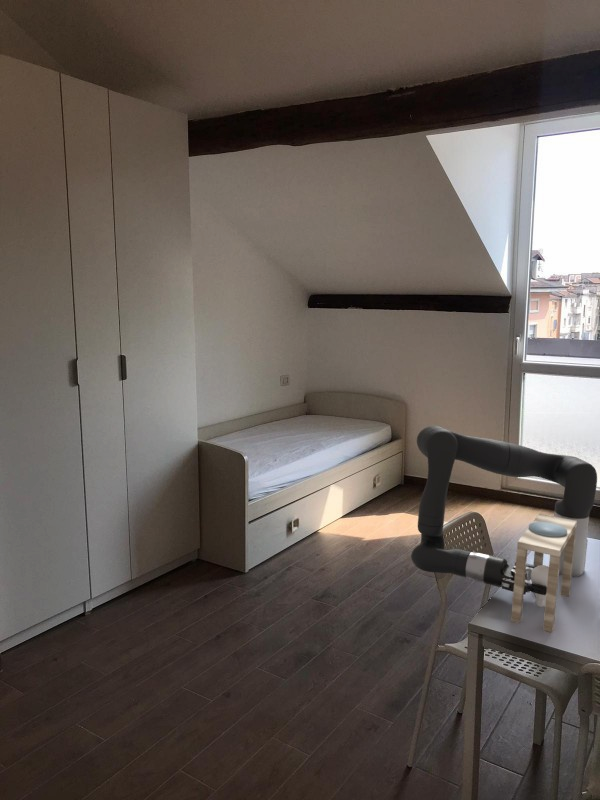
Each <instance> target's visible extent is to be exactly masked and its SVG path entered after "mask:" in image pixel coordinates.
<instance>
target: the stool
mask: <svg viewBox="0 0 600 800" xmlns="http://www.w3.org/2000/svg"><path fill="white" fill-rule="evenodd" d="M576 526H577V521H575V520H570V519H565V518H560V517H554V516H553V515H547V514H543V513H538V515H537V516H536V517H535V518H534V520H533V521H532V522H531V523H529V525H528V528H527V529H526V530H525V532H524V533H523V534H522V535H521V536H520V538H519V539H518V541H517V544H516V545H517V546H516V555H515V556H516V558H515V562H516V567H515V579H514V591H513V592H512V605H511V616H510V622H512V623H516V624H520V623H521V621H522V618H523V617H522V615H523V605H524V584H525V572H526V564H527V559H528V551H530V552H531V551H532V552H534V553H533V554H534V555H533V556H534V557H533V564H532V565H536V566H539V565H544V564H543V563H544V554H545V555H548V556H549V561H548V567H549V571H548V582H547V593H546V603H545V606H544V614H543V615H544V616H543V626H542V627H543V628H542V631H545V632H548V633H553V632H554V631H553V630H554V626H555V616H556V615H555V614H556V607H557V596H558V585H559V576H560V574H559V567H560V556H561V553H562V551H563V549H564V547H565V553H564V563H563V574H562V575H561V585H560V595H561V596H562V597H563V596H564V597H570V594H571V587H572V586H571V584H572V577H573V576H572V566H573V556H574V546H575V536H576Z"/></svg>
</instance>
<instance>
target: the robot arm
mask: <svg viewBox="0 0 600 800" xmlns="http://www.w3.org/2000/svg"><path fill="white" fill-rule="evenodd" d="M416 444H417V448H418V450H419V451H420V452H421V454H422V455H423V456H425V457H426V458H427V479H426V483H425V486H424V489H423V492H422V495H421V497H420V500H419V501H420V502H419V507H418V518H417V530H418V532H419V533H420V536H421V537H420V539H421V540H420V543H419V544H418V545H417V546H415V547H414V548H413V549H412V552H411V561H412V563H413V564H414V566H415V567H416V568H418V570H419V569H420V570H421V571H424V572H427V573H434V574H435V573H436V574H451V575H454V576H458V577H462V578H465V579H470V580H472V581H475V582H478V583H483V584H485V585H489V586H493V587H496V588H497V587H498V588H501V589H503V590H506V591H509V592H512V593H513V591H514V579H515V567H516V561H514V565H509V564H508V560H507V559H506V558H504V557H500V556H495V555H490V554H487V553H482V552H474V551H469V550H465V549H461V548H452V549H445V538H444V525H445V524H444V522H445V512H446V503H447V496H448V495H447V494H448V489H449V484H450V480H451V476H452V471H453V467H454V464H455V460H456V461H461V462H464V463H466V464H469V465H471V466H474V467H477V468H478V469H482V470H484V471H487V472H490V473H494V474H497V475H502V476H506V477H512V478H529V477H531V478H532V477H534V478H540V479H543V480H546V481H550V482H552V483H556V484H558V485H559V486H561V487H563V488H564V490H563V491H564V492H563V495H562V496H563V497H562V499H558V500H556V502H555V504H554V517H560V518H565V519H570V520H575V521H577V526H576V536H575V546H574V556H573V566H572V576H571V577H579V576H582V575H583V574H584V571H585V569H586V561H587V552H588V551H587V550H588V543H589V541H588V531H589V521H590V512H591V510H592V508H593V506H594V504H595V499H596V498H595V497H596V492H597V485H598V473H597V470H596V468H595V467H594V466H593V464H592V463H589V462H587V461H586V460H583V459H581V458H578V457H575V456H573V455H566V454H556V453H547V452H542V451H538V450H536V449H533V448H530V447H528V446H527V447H526V446H523V445H520V444H517V443H512V442H507V441H503V440H497V439H491V438H486V437H478V436H477V437H476V436H471V435H465V434H462V433H458V432H455V431H453V430H450V429H446V428H444V427H442V426H439V425H429V426H427V427H424V428H423V429H421V430H420V431H419V433H418V434H417V436H416ZM564 553H565V547H564V549H563V551H562V553H561V556H560V567H559V575H561V576H562V574H563V563H564ZM535 567H537V566H536V565H533V564H530V563H526V572H525V584H524V595H526V594H527V593H534V594H535V593H537V594H541V595H546V593H547V587H546V586H544V585H540V584H536V583H532V581H531V572H532V570H533V569H534V568H535ZM524 595H523V596H524Z"/></svg>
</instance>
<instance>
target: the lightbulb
mask: <svg viewBox="0 0 600 800" xmlns="http://www.w3.org/2000/svg"><path fill="white" fill-rule="evenodd" d="M548 571H549V565H545V564H543V565H539V566H537V567H535V568H534V569H533V570H532V572H531V580H530V582H531V583H536V584H540V585H544V586H546V587H547V582H548ZM534 596H535V604H536V605H537V606H538V607H539V608H543V607H545V603H546V595H541V594H537V593H534Z"/></svg>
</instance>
